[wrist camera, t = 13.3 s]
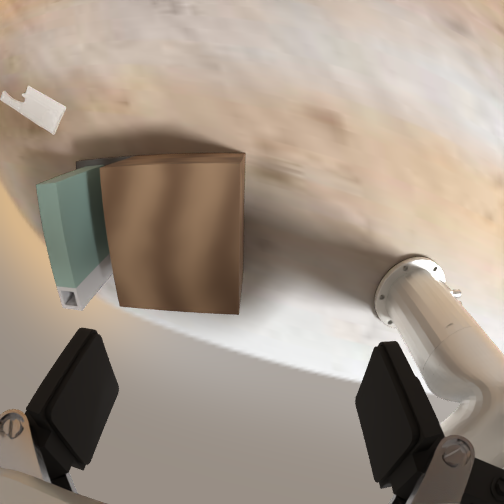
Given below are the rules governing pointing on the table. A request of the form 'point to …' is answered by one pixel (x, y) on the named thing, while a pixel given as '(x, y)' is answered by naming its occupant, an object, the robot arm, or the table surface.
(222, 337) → the table surface
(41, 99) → the white plastic blade
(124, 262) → the cabinet
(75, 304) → the green and grey box
